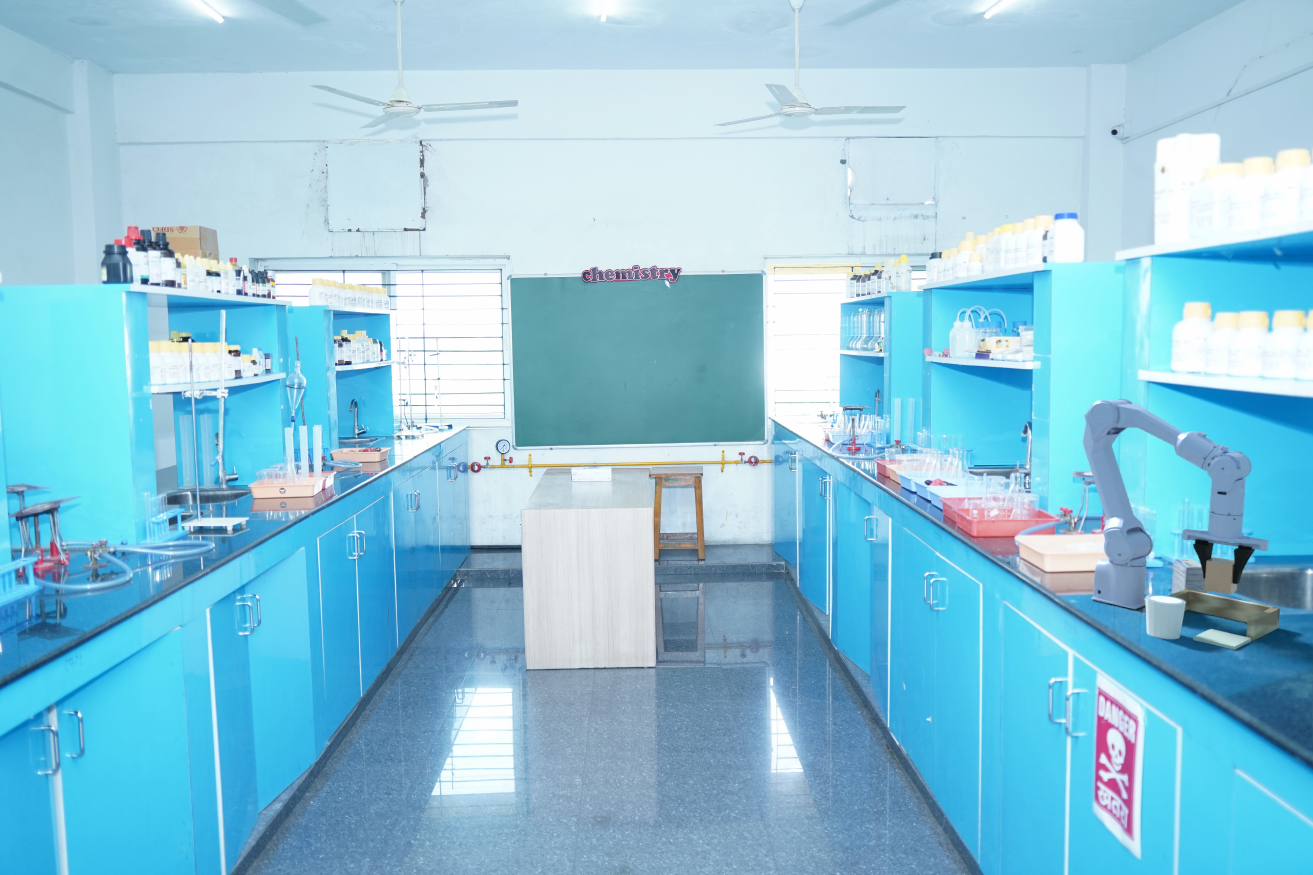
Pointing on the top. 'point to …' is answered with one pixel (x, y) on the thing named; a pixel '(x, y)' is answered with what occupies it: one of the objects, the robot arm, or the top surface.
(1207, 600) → the birch pen
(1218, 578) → the terracotta block
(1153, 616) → the white cup
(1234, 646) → the rubber mat
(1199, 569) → the medicine box
